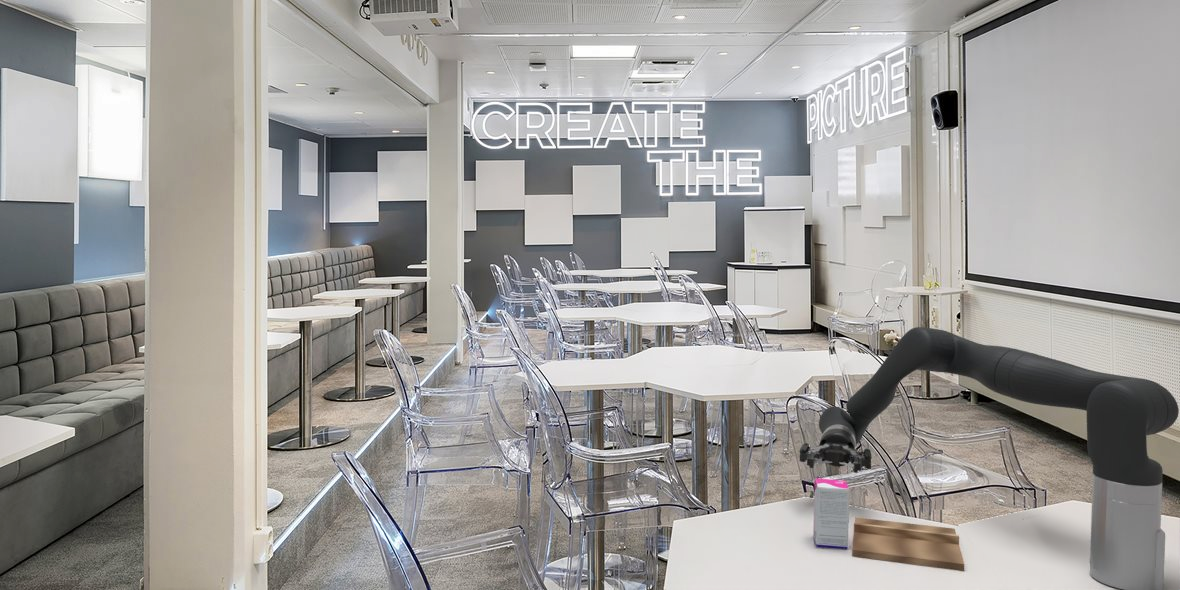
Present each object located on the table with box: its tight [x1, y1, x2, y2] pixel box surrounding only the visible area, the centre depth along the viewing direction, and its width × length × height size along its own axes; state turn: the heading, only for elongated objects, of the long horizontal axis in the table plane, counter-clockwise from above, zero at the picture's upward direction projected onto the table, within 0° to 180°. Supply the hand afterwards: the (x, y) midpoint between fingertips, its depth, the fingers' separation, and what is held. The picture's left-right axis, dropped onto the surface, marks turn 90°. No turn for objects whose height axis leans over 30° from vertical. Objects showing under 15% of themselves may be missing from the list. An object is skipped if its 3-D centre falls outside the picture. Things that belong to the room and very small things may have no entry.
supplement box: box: [812, 478, 850, 551], centre depth 138 cm, size 6×6×12 cm
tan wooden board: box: [851, 517, 965, 572], centre depth 137 cm, size 18×17×3 cm
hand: (833, 465), depth 149 cm, fingers open, 8 cm apart
